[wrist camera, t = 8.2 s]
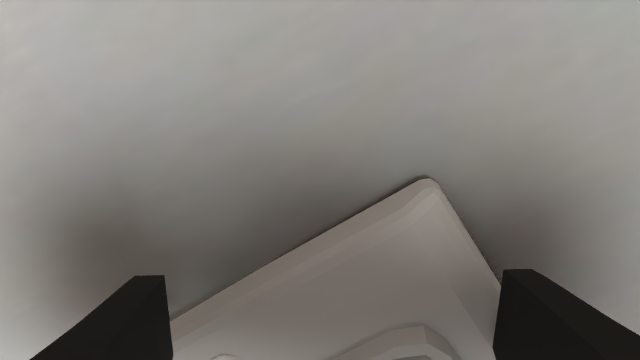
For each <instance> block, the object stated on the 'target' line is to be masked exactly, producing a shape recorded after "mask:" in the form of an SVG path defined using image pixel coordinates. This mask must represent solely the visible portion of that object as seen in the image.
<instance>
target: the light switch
mask: <svg viewBox="0 0 640 360" xmlns="http://www.w3.org/2000/svg"><path fill="white" fill-rule="evenodd" d="M500 291H501V285H500V284H499V282H498V281H497V279H496V277H495V276H494V274H493V272H492V271H491V269H490V267H489V266H488V264H487V263H486V261H485V259H484V258H483V256H482V254H481V253H480V251H479V250H478V248H477V246H476V245H475V243H474V241H473V240H472V238H471V237H470V235H469V233H468V232H467V230H466V228H465V227H464V225H463V224H462V222H461V220H460V219H459V217H458V215H457V214H456V212H455V211H454V209H453V207H452V206H451V204H450V202H449V201H448V199H447V197H446V196H445V194H444V193H443V191H442V189H441V188H440V186H439V184H438V183H436V182H435V181H433V180H432V179H430V178H428V179H422V180H418V181H416V182H415V183H413V184H411V185H409V186H407V187H406V188H404V189H402V190H400V191H398V192H397V193H395V194H393V195H391V196H389V197H388V198H386V199H384V200H382V201H380V202H378V203H377V204H375V205H373V206H371V207H369V208H368V209H366V210H364V211H362V212H360V213H359V214H357V215H355V216H353V217H351V218H350V219H348V220H346V221H344V222H342V223H341V224H339V225H337V226H335V227H333V228H332V229H330V230H328V231H326V232H324V233H323V234H321V235H319V236H317V237H315V238H314V239H312V240H310V241H308V242H306V243H305V244H303V245H301V246H299V247H297V248H296V249H294V250H292V251H290V252H288V253H287V254H285V255H283V256H281V257H279V258H278V259H276V260H274V261H272V262H270V263H269V264H267V265H265V266H263V267H261V268H260V269H258V270H256V271H255V272H253V273H251V274H250V275H248V276H246V277H244V278H243V279H241V280H239V281H238V282H236V283H234V284H233V285H231V286H229V287H228V288H226V289H224V290H223V291H221V292H219V293H217V294H216V295H214V296H212V297H211V298H209V299H207V300H206V301H204V302H202V303H201V304H199V305H197V306H195V307H194V308H192V309H190V310H189V311H187V312H185V313H184V314H182V315H180V316H179V317H177V318H175V319H173V320H172V321H170V329H171V337H172V346H173V360H496V358H495V355H494V351H493V348H492V346H493V339H494V332H495V325H496V318H497V311H498V304H499V297H500Z"/></svg>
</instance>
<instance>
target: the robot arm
mask: <svg viewBox="0 0 640 360" xmlns="http://www.w3.org/2000/svg"><path fill="white" fill-rule="evenodd" d="M492 348H493V351H494V355H495V358H496V360H640V336H639V335H638V334H636V333H634V332H632V331H631V330H629V329H627V328H626V327H624V326H622V325H621V324H619V323H617V322H616V321H614V320H612V319H611V318H609V317H608V316H606V315H604V314H603V313H601V312H600V311H598V310H596V309H595V308H593V307H592V306H590V305H589V304H587V303H586V302H584V301H582V300H581V299H579V298H578V297H576V296H575V295H573V294H572V293H570V292H569V291H567V290H565V289H564V288H562V287H561V286H559V285H558V284H556V283H555V282H553V281H551V280H550V279H548V278H547V277H545V276H543V275H541V274H540V273H538V272H536V271H534V270H532V269H511V270H503V277H502V284H501V291H500V297H499V304H498V311H497V318H496V325H495V332H494V339H493V346H492ZM30 360H173V346H172V337H171V329H170V320H169V312H168V303H167V295H166V286H165V278H164V275H152V276H134V277H133V278H132V279H130V280H129V281H128V282H127V283H125V284H124V285H123V286H122V287H121V288H119V289H118V290H117V291H116V292H115V293H113V294H112V295H111V296H110V297H109V298H108V299H106V300H105V301H104V302H103V303H102V304H101V305H99V306H98V307H97V308H96V309H95V310H93V311H92V312H91V313H90V314H88V315H87V316H86V317H85V318H84V319H82V320H81V321H80V322H79V323H78V324H76V325H75V326H74V327H73V328H71V329H70V330H69V331H67V332H66V333H65V334H63V335H62V336H61V337H59V338H58V339H57V340H55V341H54V342H53V343H51V344H50V345H49V346H47V347H46V348H45V349H43V350H42V351H41V352H39V353H38V354H37V355H35V356H34V357H33V358H31V359H30Z"/></svg>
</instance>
